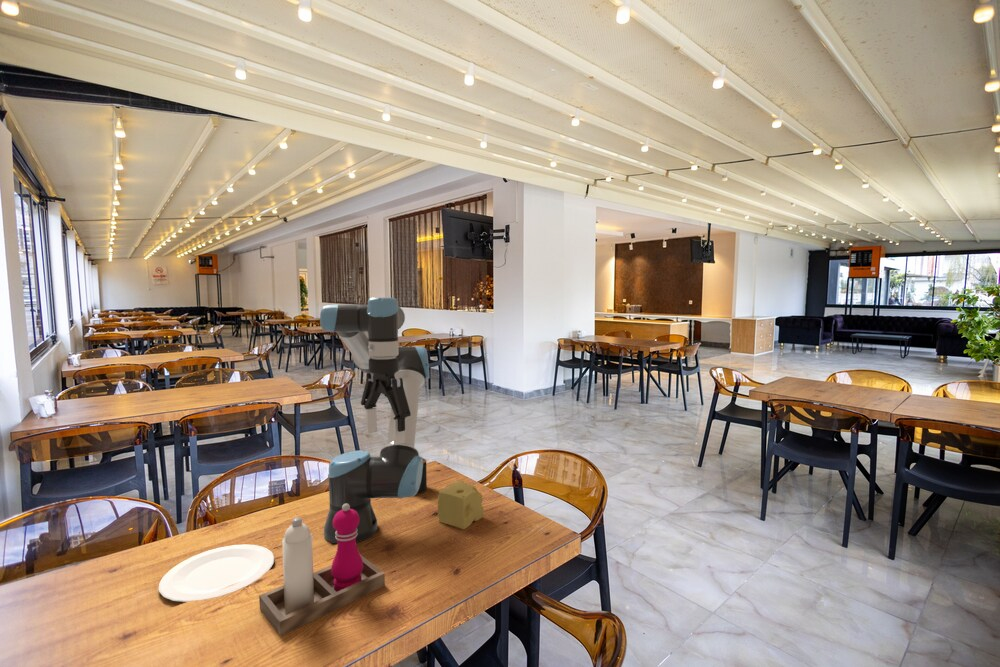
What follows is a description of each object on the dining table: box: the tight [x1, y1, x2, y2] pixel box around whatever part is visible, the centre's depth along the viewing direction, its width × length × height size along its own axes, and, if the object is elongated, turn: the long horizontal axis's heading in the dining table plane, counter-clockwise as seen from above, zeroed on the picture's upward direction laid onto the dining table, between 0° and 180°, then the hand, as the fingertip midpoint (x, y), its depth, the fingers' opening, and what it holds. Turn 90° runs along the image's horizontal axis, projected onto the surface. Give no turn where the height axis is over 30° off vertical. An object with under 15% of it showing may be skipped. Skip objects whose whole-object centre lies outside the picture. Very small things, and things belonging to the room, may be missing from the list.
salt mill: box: [281, 517, 314, 615], centre depth 104 cm, size 6×6×20 cm
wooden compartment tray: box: [258, 555, 386, 637], centre depth 109 cm, size 24×12×4 cm, turn 135°
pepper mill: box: [331, 503, 363, 592], centre depth 112 cm, size 7×7×20 cm
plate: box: [158, 543, 275, 603], centre depth 120 cm, size 25×25×2 cm
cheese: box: [437, 480, 485, 530], centre depth 149 cm, size 10×11×10 cm
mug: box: [416, 457, 428, 495], centre depth 170 cm, size 8×12×10 cm
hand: (385, 437), depth 125 cm, fingers open, 13 cm apart
